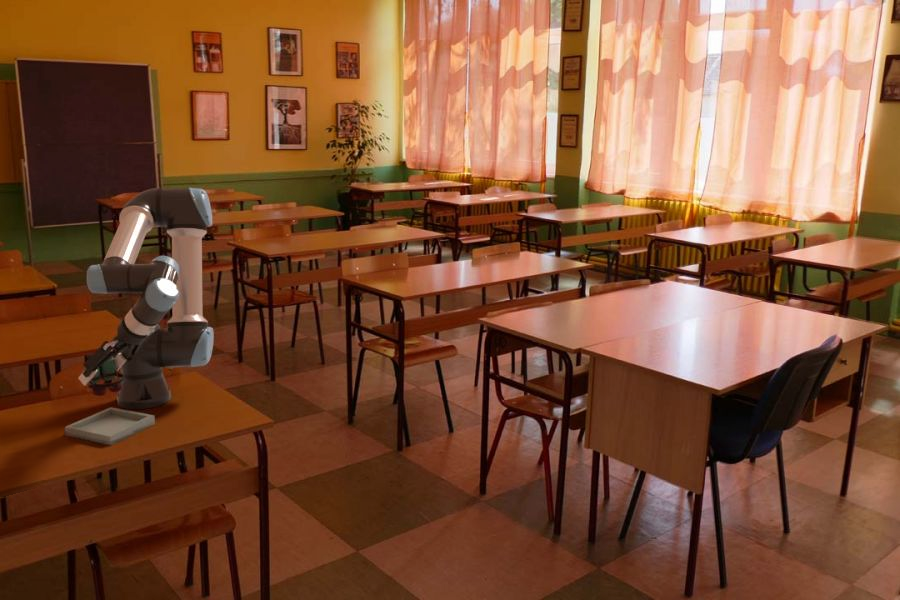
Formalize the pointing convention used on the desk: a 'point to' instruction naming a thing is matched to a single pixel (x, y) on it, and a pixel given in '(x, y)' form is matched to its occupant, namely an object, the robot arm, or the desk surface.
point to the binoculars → (105, 378)
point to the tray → (110, 426)
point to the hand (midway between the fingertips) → (97, 376)
